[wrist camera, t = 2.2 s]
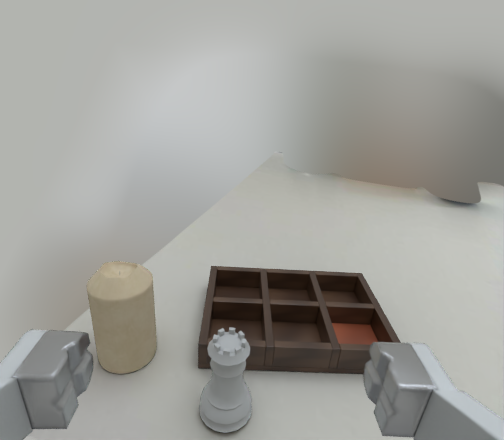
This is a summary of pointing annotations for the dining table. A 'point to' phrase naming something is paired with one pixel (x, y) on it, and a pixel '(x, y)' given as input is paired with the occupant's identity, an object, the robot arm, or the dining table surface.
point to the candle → (123, 316)
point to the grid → (295, 318)
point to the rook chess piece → (226, 383)
